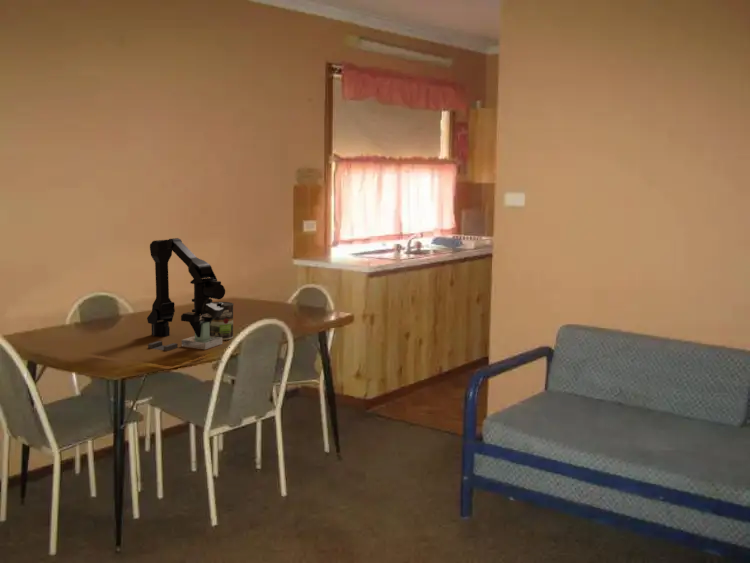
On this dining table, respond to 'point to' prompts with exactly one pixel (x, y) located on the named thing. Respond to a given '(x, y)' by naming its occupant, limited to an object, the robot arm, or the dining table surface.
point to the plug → (204, 331)
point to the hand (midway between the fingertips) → (202, 336)
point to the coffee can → (223, 323)
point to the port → (202, 342)
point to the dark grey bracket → (162, 346)
